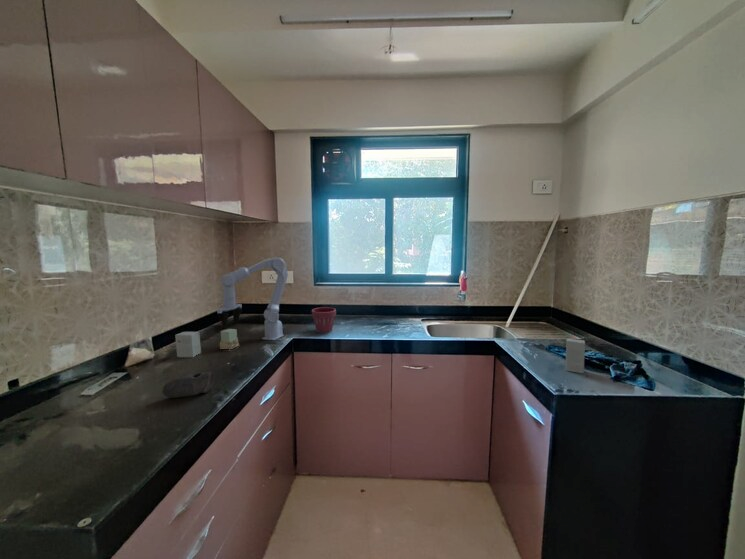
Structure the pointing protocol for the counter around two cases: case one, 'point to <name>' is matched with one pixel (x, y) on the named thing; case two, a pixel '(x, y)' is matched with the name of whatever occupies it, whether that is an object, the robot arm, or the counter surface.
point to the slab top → (228, 343)
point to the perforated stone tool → (189, 385)
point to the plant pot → (324, 318)
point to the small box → (188, 344)
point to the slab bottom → (230, 347)
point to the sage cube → (228, 335)
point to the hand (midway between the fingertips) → (230, 324)
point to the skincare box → (575, 355)
